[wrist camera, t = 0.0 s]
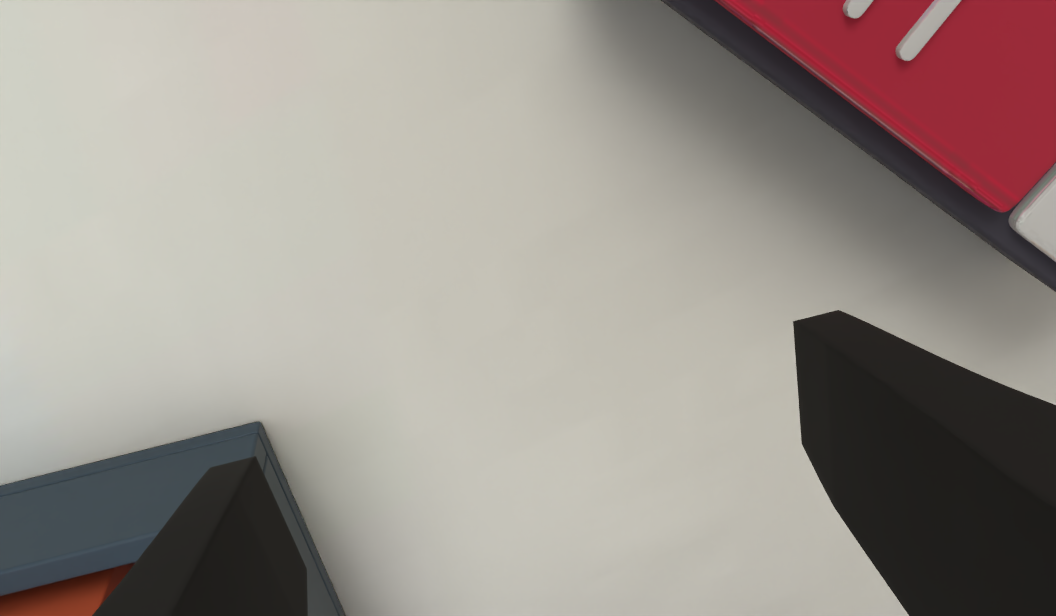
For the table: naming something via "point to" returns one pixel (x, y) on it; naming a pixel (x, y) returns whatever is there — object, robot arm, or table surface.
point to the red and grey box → (924, 97)
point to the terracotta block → (65, 595)
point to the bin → (132, 512)
